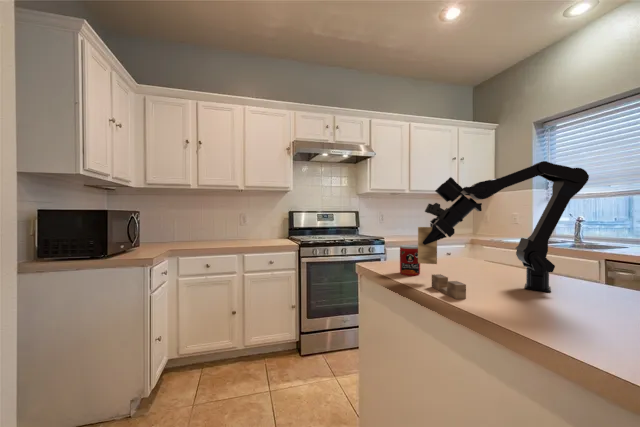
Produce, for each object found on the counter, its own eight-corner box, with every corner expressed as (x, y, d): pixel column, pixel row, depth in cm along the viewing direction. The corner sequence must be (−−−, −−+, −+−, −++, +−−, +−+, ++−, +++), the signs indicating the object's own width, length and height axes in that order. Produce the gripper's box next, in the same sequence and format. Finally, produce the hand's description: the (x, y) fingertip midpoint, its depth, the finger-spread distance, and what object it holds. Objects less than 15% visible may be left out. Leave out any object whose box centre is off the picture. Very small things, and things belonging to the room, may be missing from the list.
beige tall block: (436, 262, 100) (436, 227, 100) (437, 264, 97) (437, 227, 97) (417, 261, 102) (417, 226, 101) (418, 263, 99) (418, 227, 99)
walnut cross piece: (431, 286, 93) (431, 274, 93) (440, 286, 93) (440, 274, 93) (456, 299, 80) (456, 284, 80) (465, 298, 80) (466, 284, 80)
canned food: (399, 275, 110) (399, 246, 110) (400, 271, 117) (400, 244, 117) (420, 276, 107) (420, 247, 107) (419, 272, 115) (419, 245, 115)
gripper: (436, 196, 107) (405, 225, 110) (443, 193, 89) (406, 228, 92) (459, 217, 105) (427, 246, 108) (471, 218, 87) (432, 253, 90)
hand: (423, 243), depth 100 cm, fingers closed on beige tall block, 3 cm apart
